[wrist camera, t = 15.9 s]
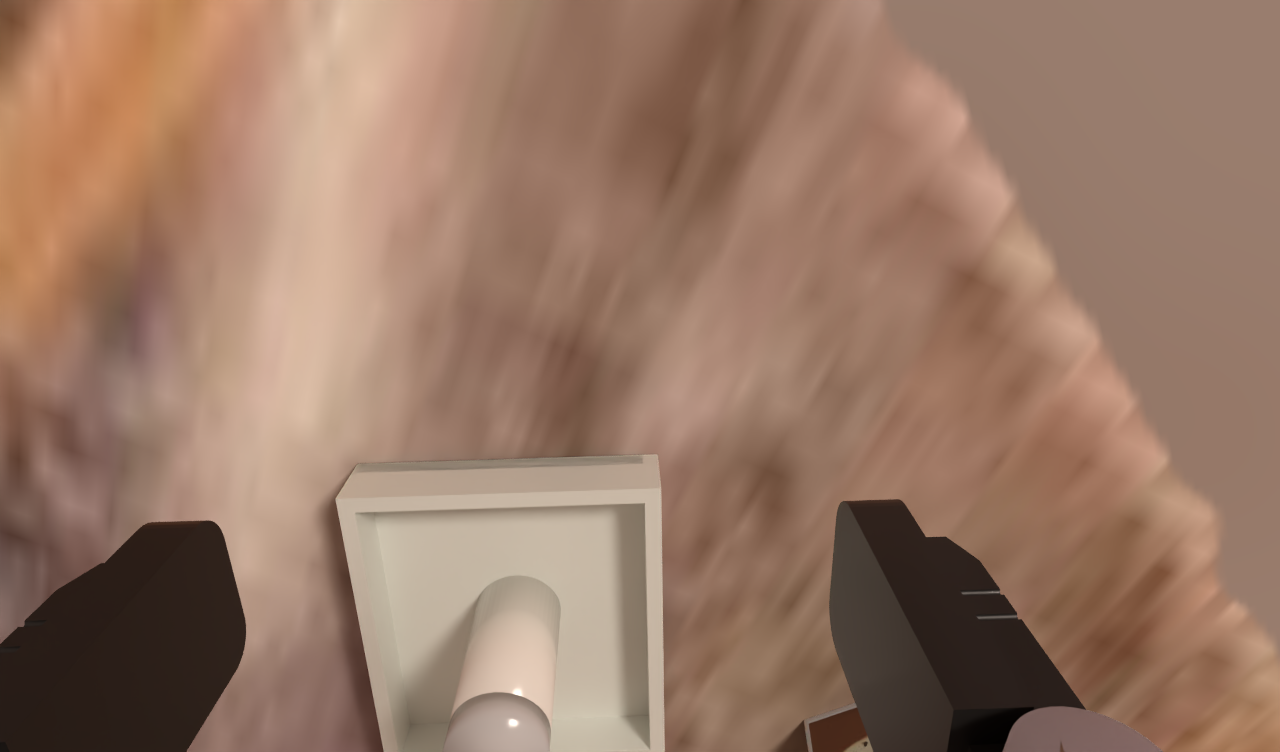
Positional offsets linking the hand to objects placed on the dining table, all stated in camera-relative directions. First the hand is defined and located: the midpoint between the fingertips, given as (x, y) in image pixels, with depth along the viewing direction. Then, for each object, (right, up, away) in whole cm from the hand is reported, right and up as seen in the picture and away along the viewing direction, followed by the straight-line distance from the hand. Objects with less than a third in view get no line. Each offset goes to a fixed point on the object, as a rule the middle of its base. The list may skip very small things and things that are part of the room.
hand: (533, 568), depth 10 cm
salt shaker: (-5, -10, +33) cm, 35 cm away
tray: (-5, -10, +34) cm, 36 cm away
